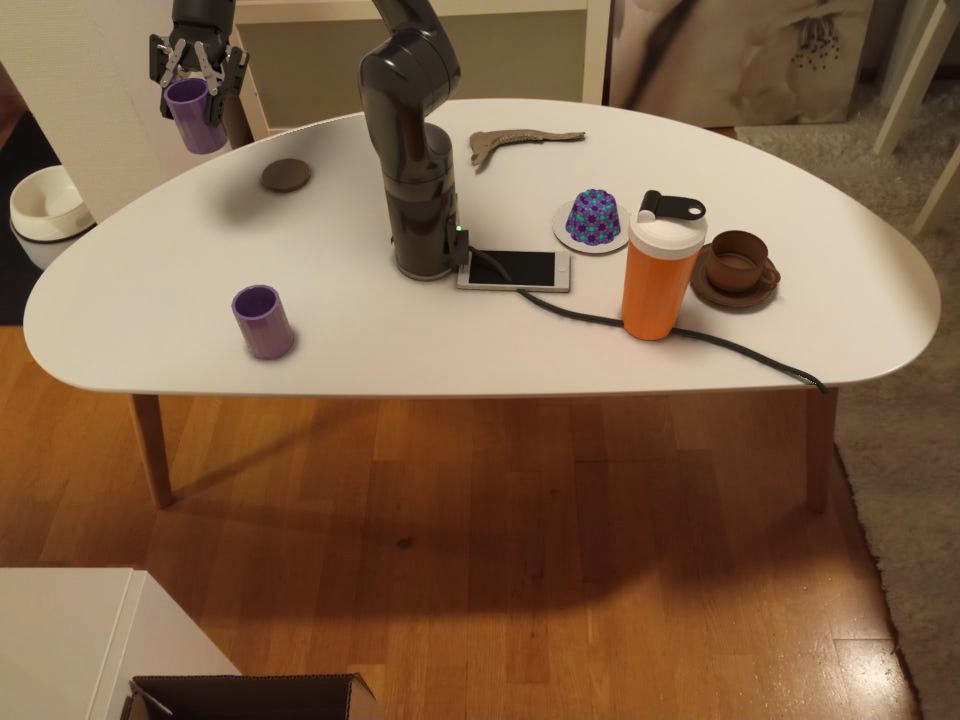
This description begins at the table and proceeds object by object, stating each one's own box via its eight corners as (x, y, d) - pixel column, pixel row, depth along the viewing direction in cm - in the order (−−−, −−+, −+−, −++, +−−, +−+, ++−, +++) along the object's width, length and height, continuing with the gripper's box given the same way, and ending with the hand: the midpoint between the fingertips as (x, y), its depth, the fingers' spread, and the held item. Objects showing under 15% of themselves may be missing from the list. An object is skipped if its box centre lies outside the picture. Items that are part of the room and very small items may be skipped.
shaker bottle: (679, 350, 98) (712, 236, 82) (610, 341, 99) (629, 226, 83) (682, 300, 103) (713, 183, 87) (616, 291, 105) (635, 175, 89)
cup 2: (297, 325, 103) (283, 284, 96) (289, 359, 99) (274, 319, 93) (253, 325, 103) (237, 284, 97) (244, 359, 99) (226, 319, 93)
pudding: (535, 227, 113) (536, 199, 109) (590, 190, 118) (593, 162, 113) (595, 269, 107) (598, 242, 103) (650, 228, 112) (656, 200, 108)
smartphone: (568, 292, 105) (569, 287, 104) (457, 288, 106) (456, 284, 105) (569, 255, 109) (569, 251, 108) (462, 252, 110) (461, 247, 109)
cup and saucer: (775, 258, 107) (788, 225, 103) (772, 321, 100) (785, 289, 96) (689, 244, 110) (698, 212, 105) (680, 305, 103) (688, 273, 98)
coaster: (313, 161, 124) (312, 157, 123) (306, 192, 119) (305, 188, 119) (267, 162, 124) (266, 158, 124) (258, 193, 120) (257, 189, 119)
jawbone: (452, 146, 126) (451, 135, 125) (561, 114, 131) (561, 103, 130) (474, 174, 120) (473, 163, 119) (587, 139, 125) (588, 128, 124)
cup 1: (237, 137, 106) (218, 86, 100) (204, 160, 103) (183, 109, 97) (209, 123, 109) (189, 73, 102) (176, 145, 106) (154, 94, 100)
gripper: (139, -26, 97) (124, 109, 100) (238, -13, 94) (220, 125, 96) (177, -5, 104) (162, 120, 107) (270, 7, 101) (252, 136, 104)
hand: (189, 122), depth 102 cm, fingers closed on cup 1, 6 cm apart
